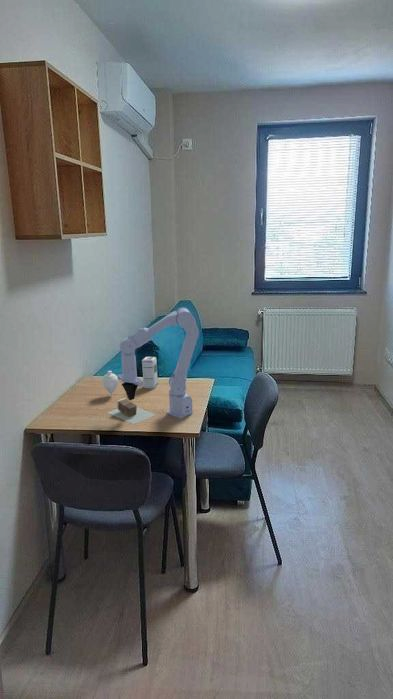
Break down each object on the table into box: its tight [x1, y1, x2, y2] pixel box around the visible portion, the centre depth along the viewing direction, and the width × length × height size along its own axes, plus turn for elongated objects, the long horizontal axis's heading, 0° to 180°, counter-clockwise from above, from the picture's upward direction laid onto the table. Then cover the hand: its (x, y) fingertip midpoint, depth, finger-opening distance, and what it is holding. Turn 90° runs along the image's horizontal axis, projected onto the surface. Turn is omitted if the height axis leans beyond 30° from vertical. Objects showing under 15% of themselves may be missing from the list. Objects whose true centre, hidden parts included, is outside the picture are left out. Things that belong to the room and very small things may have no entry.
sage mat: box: [106, 406, 157, 425], centre depth 191 cm, size 18×12×1 cm, turn 46°
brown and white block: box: [116, 397, 138, 417], centre depth 190 cm, size 4×4×8 cm
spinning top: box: [101, 370, 120, 396], centre depth 212 cm, size 8×8×12 cm
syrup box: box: [141, 356, 159, 389], centre depth 222 cm, size 6×6×14 cm
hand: (131, 399), depth 187 cm, fingers closed
